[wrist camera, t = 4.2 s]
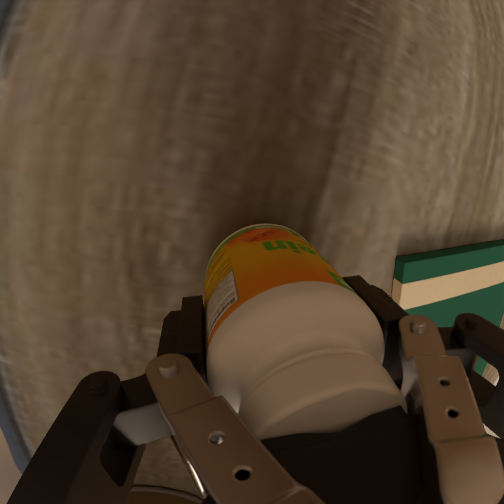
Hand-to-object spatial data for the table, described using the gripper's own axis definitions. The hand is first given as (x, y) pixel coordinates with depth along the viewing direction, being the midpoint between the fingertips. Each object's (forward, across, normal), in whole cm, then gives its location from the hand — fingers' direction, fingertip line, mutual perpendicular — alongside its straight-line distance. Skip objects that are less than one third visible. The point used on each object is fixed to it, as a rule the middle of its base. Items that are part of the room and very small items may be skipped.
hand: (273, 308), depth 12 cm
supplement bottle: (+3, 0, 0) cm, 3 cm away
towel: (+4, -14, +9) cm, 17 cm away
